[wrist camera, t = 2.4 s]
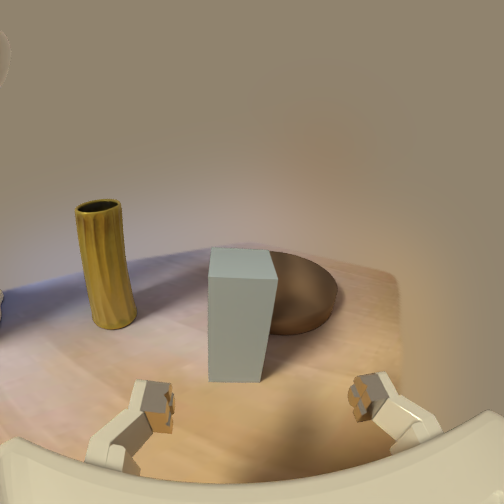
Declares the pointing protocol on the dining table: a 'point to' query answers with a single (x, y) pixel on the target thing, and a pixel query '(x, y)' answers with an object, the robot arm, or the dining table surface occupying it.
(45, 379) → the dining table surface
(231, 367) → the gray block
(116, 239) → the vase
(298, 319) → the walnut base
